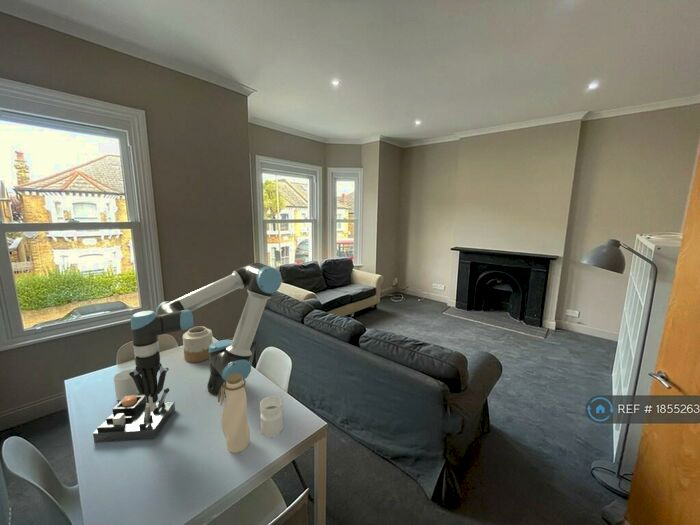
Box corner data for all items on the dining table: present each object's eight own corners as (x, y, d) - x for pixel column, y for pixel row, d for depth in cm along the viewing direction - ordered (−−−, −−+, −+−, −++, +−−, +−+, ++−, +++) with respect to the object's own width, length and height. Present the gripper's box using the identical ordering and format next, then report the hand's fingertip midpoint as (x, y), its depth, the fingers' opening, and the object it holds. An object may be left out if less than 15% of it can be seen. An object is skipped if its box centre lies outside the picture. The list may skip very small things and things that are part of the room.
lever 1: (151, 418, 112) (154, 399, 111) (147, 423, 109) (150, 404, 108) (146, 417, 112) (148, 398, 110) (141, 422, 109) (144, 403, 108)
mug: (117, 405, 126) (114, 382, 124) (115, 395, 133) (112, 373, 131) (150, 393, 134) (147, 372, 132) (146, 385, 141) (144, 364, 139)
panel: (175, 409, 125) (174, 393, 123) (154, 439, 108) (152, 421, 107) (123, 411, 122) (121, 396, 121) (94, 442, 106) (91, 425, 105)
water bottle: (222, 459, 100) (217, 388, 95) (220, 441, 108) (215, 374, 103) (252, 449, 105) (249, 380, 100) (248, 432, 113) (245, 367, 108)
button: (140, 403, 121) (139, 394, 120) (133, 411, 116) (131, 402, 115) (127, 403, 120) (126, 395, 119) (120, 411, 115) (119, 403, 115)
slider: (125, 422, 111) (124, 413, 110) (120, 427, 108) (119, 418, 108) (118, 422, 111) (117, 413, 110) (113, 428, 108) (112, 418, 107)
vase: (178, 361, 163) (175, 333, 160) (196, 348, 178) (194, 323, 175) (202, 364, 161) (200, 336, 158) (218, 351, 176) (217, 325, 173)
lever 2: (164, 403, 121) (171, 387, 120) (160, 408, 118) (168, 391, 117) (159, 402, 120) (166, 385, 119) (155, 406, 118) (163, 389, 117)
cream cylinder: (259, 424, 117) (258, 398, 115) (280, 419, 120) (280, 393, 118) (261, 440, 109) (260, 412, 107) (284, 433, 113) (284, 406, 110)
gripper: (170, 347, 110) (175, 402, 114) (135, 348, 108) (141, 403, 113) (159, 357, 103) (165, 415, 107) (122, 358, 101) (129, 417, 105)
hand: (153, 409), depth 110 cm, fingers closed
